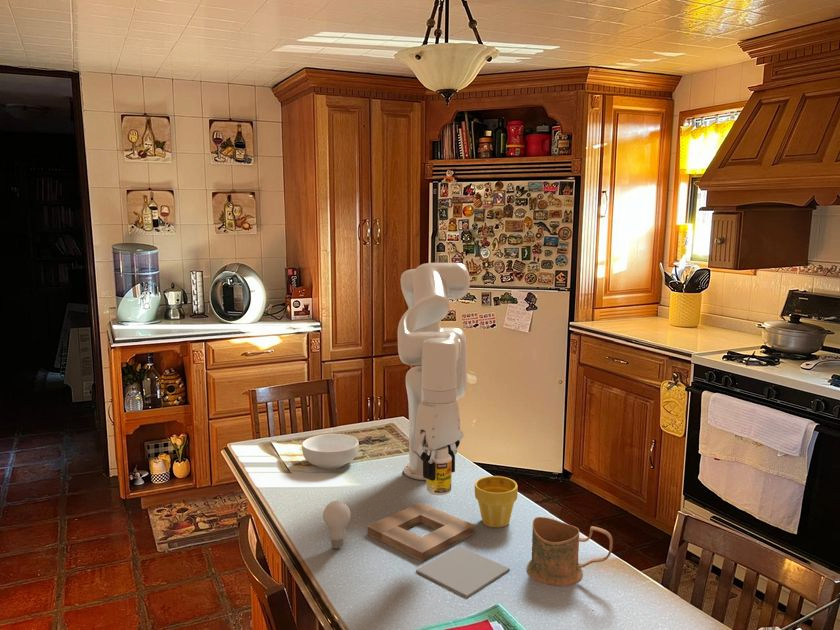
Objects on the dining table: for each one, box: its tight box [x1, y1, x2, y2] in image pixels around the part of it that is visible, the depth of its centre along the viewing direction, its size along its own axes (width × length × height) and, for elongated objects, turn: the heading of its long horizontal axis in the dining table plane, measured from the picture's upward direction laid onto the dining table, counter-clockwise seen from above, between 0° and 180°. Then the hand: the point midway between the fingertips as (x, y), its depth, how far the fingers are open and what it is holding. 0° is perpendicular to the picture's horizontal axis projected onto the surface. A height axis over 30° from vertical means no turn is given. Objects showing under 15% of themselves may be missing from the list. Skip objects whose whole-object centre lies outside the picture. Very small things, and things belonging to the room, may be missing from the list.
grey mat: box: [415, 545, 510, 598], centre depth 143 cm, size 14×14×1 cm
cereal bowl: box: [301, 433, 360, 470], centre depth 202 cm, size 17×17×7 cm
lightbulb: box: [322, 500, 351, 550], centre depth 152 cm, size 6×6×11 cm
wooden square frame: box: [366, 502, 476, 562], centre depth 159 cm, size 18×18×2 cm
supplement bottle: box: [425, 446, 453, 496], centre depth 149 cm, size 6×6×10 cm
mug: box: [526, 516, 614, 587], centre depth 140 cm, size 12×18×12 cm, turn 58°
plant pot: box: [474, 475, 519, 528], centre depth 165 cm, size 10×10×10 cm
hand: (439, 473), depth 149 cm, fingers closed on supplement bottle, 5 cm apart
